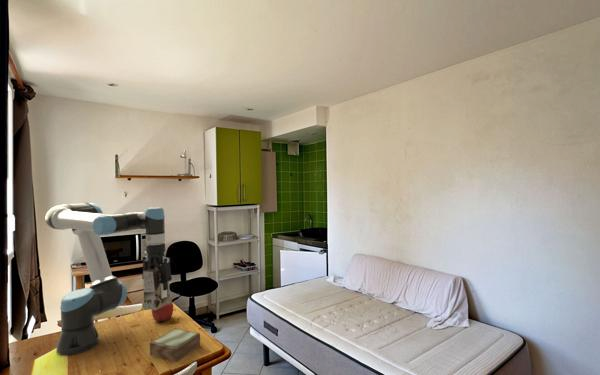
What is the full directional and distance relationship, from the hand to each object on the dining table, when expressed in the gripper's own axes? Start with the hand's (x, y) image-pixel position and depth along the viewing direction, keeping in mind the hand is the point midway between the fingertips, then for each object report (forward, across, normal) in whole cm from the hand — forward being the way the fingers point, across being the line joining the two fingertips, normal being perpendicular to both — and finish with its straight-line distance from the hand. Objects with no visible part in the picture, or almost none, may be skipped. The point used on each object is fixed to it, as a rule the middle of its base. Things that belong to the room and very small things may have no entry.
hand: (157, 296), depth 137 cm
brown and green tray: (+22, +9, +1) cm, 24 cm away
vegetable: (+22, -20, +21) cm, 36 cm away
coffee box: (+4, 0, 0) cm, 4 cm away
